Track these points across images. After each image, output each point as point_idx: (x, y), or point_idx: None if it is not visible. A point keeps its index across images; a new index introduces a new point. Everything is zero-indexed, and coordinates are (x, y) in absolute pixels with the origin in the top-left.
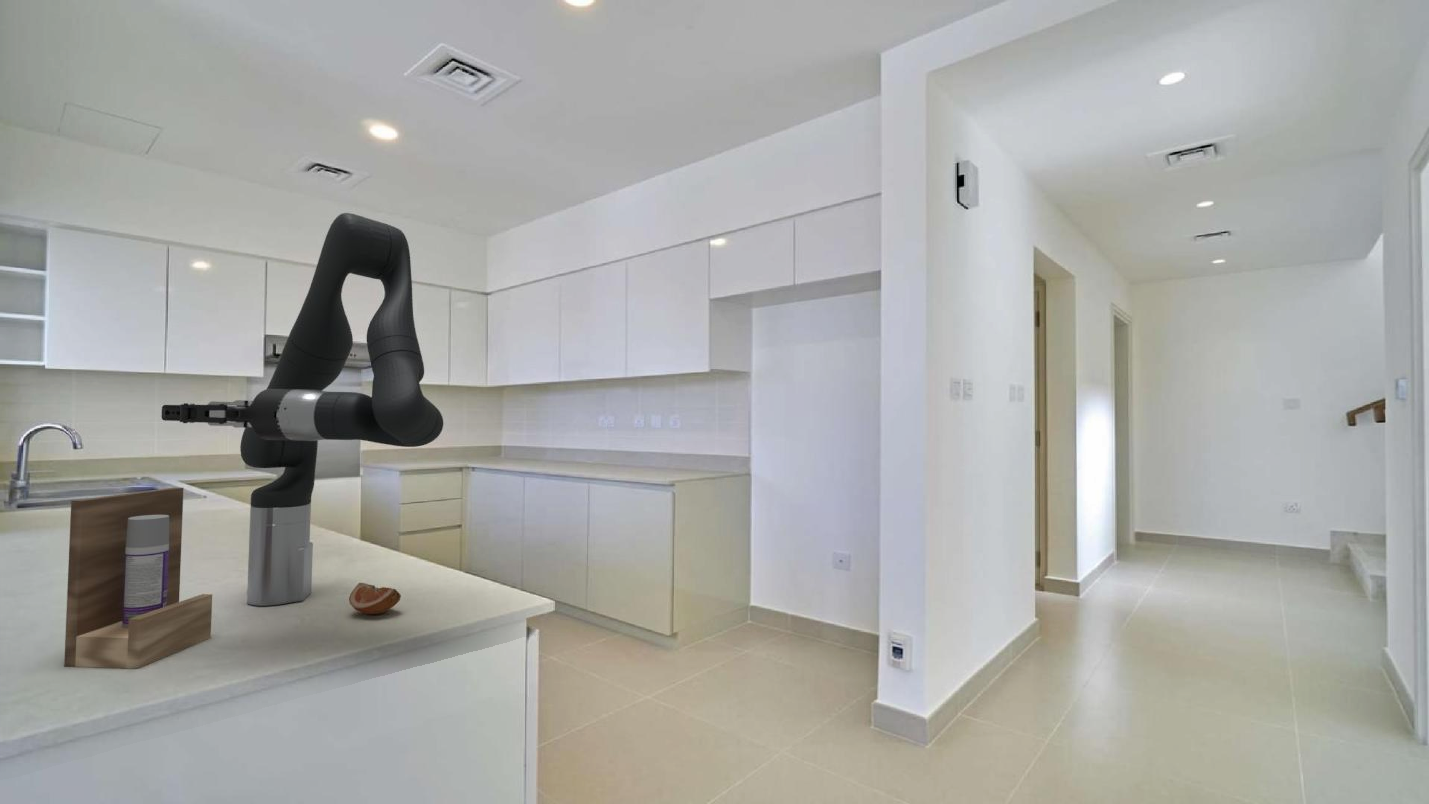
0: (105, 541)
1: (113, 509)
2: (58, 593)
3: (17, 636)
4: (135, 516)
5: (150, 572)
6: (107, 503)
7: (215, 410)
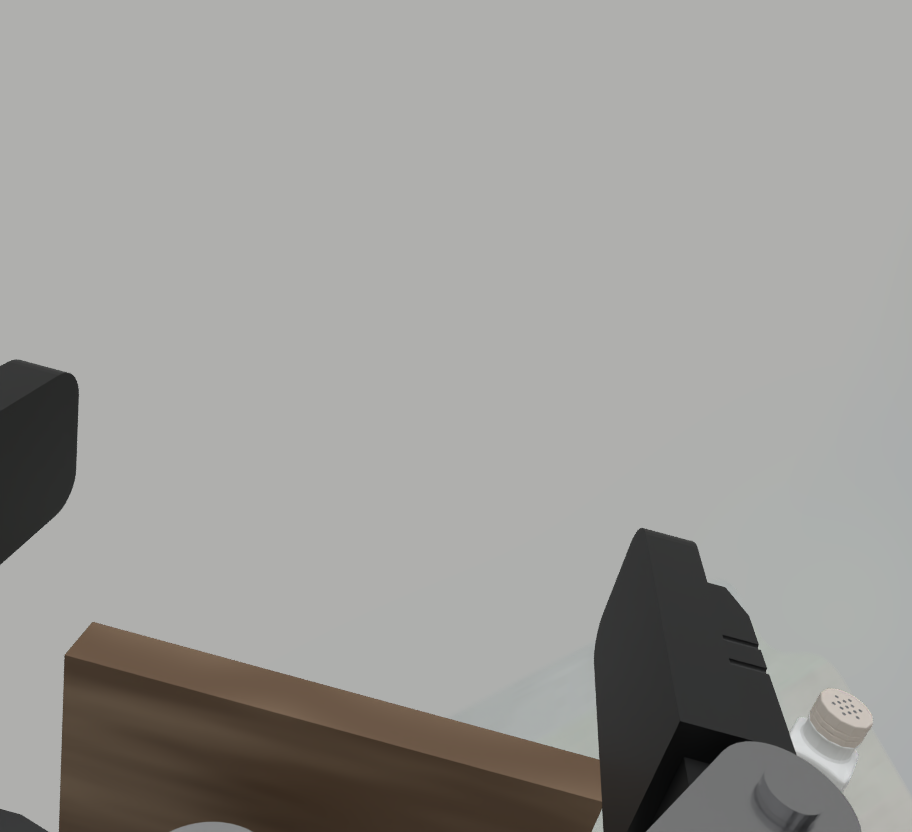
0: (162, 828)
1: (206, 739)
2: None
3: None
4: (239, 828)
5: None
6: (179, 708)
7: (626, 585)
